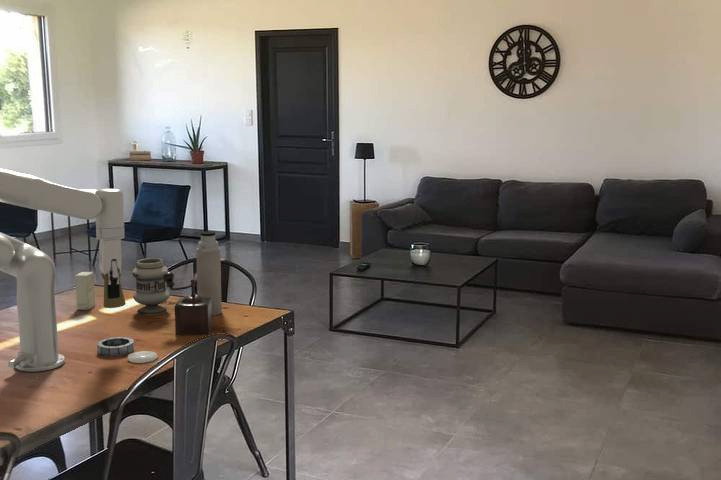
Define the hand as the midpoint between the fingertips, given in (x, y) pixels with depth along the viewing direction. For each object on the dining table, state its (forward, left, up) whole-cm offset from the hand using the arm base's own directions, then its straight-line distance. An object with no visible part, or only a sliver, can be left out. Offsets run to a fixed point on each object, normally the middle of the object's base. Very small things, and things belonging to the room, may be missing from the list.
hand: (112, 295), depth 215 cm
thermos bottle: (+45, -5, -17) cm, 49 cm away
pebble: (-3, -11, -16) cm, 20 cm away
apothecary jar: (+39, +14, -17) cm, 45 cm away
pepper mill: (+25, -8, -17) cm, 31 cm away
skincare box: (+35, +38, -17) cm, 54 cm away
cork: (0, 0, -3) cm, 3 cm away
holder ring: (0, 0, -16) cm, 17 cm away
